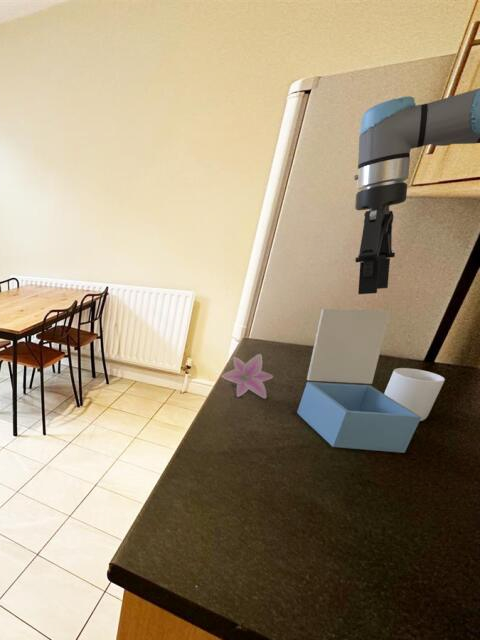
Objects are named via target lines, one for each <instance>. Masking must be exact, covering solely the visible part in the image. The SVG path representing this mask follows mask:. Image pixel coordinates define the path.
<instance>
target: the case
mask: <svg viewBox="0 0 480 640" xmlns="http://www.w3.org/2000/svg"><path fill="white" fill-rule="evenodd" d="M300 399H301V400H300V402H299V406H298V409H297V411H296V414H297V415H298V416H300V418H302V419H303V420H304V422H306V423H307V424H308V425H309V426H310V427H311V428H312V429H313V430H314V431H315V432H317V433H318V435H320V437H322V438H323V439H324V441H326V442H327V443H328V444H329V445H330V446H331V448H342V449H353V450H365V451H377V452H378V451H379V452H390V453H403V454H405V453H406V451H407V448H408V446H409V445H410V442H411V441H412V438H413V435H414V434H415V432H416V430H417V427H418V426H419V423H420V422H421V421H420V419H421V417H420V416H419V415H417V414H415V413H414V412H412V411H411V410H409V409H407V408H406V407H404V406H403V405H401V404H399V403H398V402H396V401H394V400H393V399H391V398H390V397H388V396H386V395H385V394H384V392H382V391H380V390H379V389H377V388H375V387H374V386H372V385H371V384H355V383H336V382H318V381H307V382H306V384H305V387H304V390H303V393H302V397H301V398H300Z"/></svg>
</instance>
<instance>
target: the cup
mask: <svg viewBox="0 0 480 640" xmlns="http://www.w3.org/2000/svg"><path fill="white" fill-rule="evenodd" d="M445 381H446V378H445V377H443V376H442V375H440V374H437V373H434V372H431V371H427V370H423V369H417V368H410V367H399V368H394V369H393V371H392V374H391V376H390V379H389V381H388V383H387V385H386V388H385V390H384V392H383V394H385V395H386V396H388V397H390V398H391V399H393V400H394V401H396V402H398V403H399V404H401V405H403V406H404V407H406V408H407V409H409V410H411V411H412V412H414V413H415V414H417V415H419V416H420V417H421V419H420V421H419V422H423V421H425V420H426V419H428V417H429V415H430V412H431V410H432V409H433V406H434V404H435V402H436V400H437V398H438V395H439V394H440V391H441V389H442V387H443V385H444V383H445Z"/></svg>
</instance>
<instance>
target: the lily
mask: <svg viewBox="0 0 480 640" xmlns="http://www.w3.org/2000/svg"><path fill="white" fill-rule="evenodd" d="M232 362H233V365H234V369H232V370H229V371H226V372H225V373H223V374H221V378H222V379H224V380H227V381H230V382H232V383H233V384H234V383H235V385H234V386H235V387H236V397H237V398H239V397H241V396H242V395H244V394H245V393H246V392H247V391H251V392H253V393H254V394H255V395H257V396H258V397H261V398H262V399H264V400H265V399H267V390H266V386H265V384H264V382H267V381H269V380H271V379H273V377H274V375H273V374H271V373H269V372H266V371H262V370H263V356H262V354H261V353H258V354H256V355H254V356H253V357H252V358H250V359H249V360H248V361H247V362H244V361H243V360H242V359H240V358H238V357H236V356H232Z"/></svg>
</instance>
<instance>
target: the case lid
mask: <svg viewBox="0 0 480 640" xmlns="http://www.w3.org/2000/svg"><path fill="white" fill-rule="evenodd" d="M390 315H391V310H380V309H377V310H376V309H335V308H334V309H332V308H331V309H330V308H321V312H320V316H319V321H318V324H317V325H318V327H317V330H316V333H315V339H314V344H313V349H312V353H311V358H310V363H309V367H308V371H307V376H306V380H307V381H309V382H327V383H346V384H365V385H373V381H374V377H375V375H376V370H377V366H378V363H379V358H380V354H381V351H382V346H383V343H384V339H385V334H386V331H387V327H388V323H389V320H390V319H389V318H390Z"/></svg>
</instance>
